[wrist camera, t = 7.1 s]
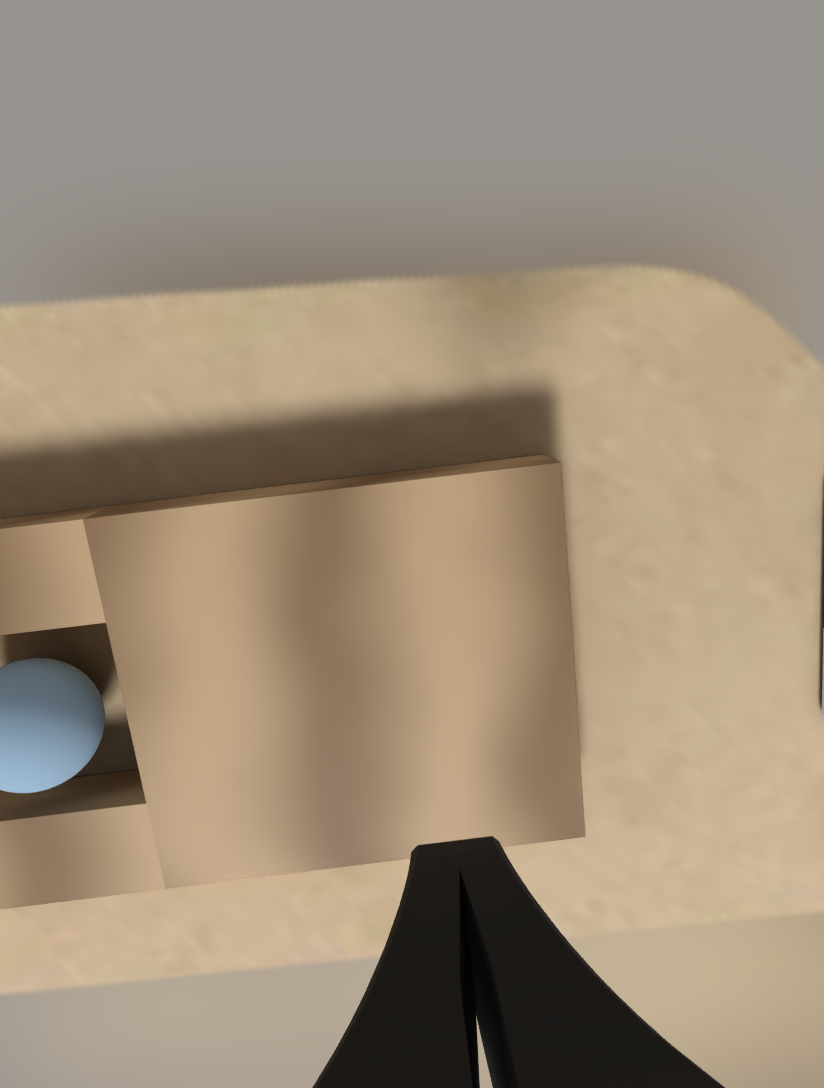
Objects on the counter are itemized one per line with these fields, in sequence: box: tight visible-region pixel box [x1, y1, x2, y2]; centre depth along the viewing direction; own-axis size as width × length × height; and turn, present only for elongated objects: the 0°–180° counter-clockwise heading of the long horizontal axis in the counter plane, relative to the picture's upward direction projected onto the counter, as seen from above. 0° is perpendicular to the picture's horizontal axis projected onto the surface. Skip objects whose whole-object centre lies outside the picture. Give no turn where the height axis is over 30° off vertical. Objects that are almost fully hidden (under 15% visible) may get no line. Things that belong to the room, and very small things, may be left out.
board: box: [0, 454, 585, 909], centre depth 20 cm, size 22×11×4 cm, turn 97°
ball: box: [0, 658, 105, 793], centre depth 20 cm, size 4×4×4 cm
